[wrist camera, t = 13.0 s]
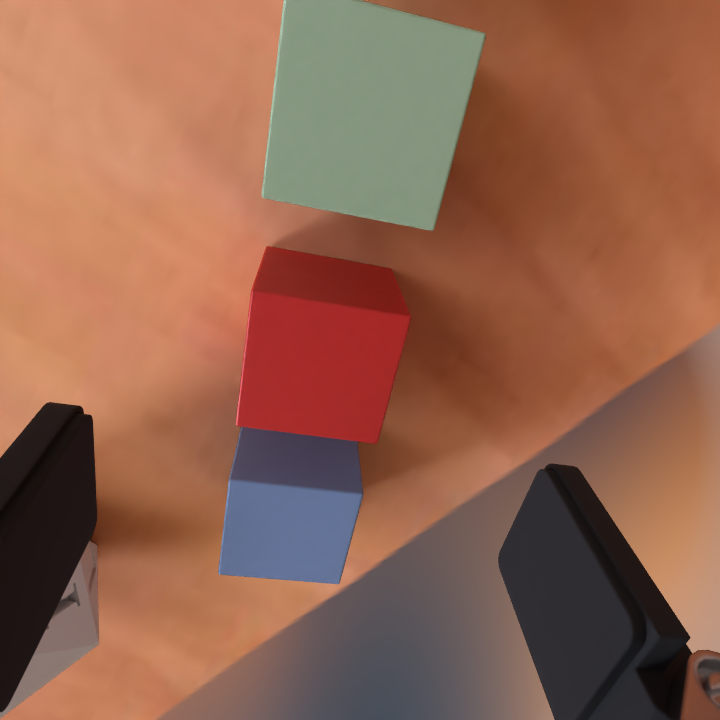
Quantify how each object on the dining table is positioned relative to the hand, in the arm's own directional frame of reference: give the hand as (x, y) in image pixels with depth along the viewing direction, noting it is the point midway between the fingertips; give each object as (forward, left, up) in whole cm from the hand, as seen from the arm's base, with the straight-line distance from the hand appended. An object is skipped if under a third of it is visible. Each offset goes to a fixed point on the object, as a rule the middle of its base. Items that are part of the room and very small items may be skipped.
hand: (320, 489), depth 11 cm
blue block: (+8, 0, -11) cm, 14 cm away
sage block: (-7, 0, -11) cm, 13 cm away
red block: (+1, 0, -11) cm, 11 cm away
